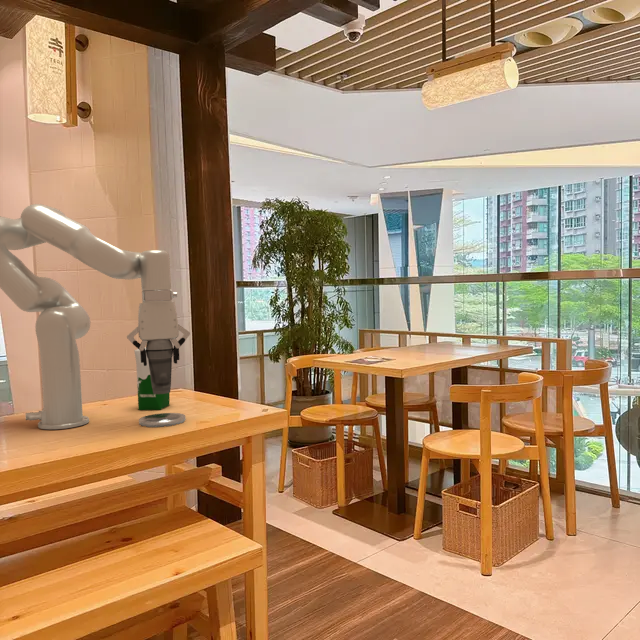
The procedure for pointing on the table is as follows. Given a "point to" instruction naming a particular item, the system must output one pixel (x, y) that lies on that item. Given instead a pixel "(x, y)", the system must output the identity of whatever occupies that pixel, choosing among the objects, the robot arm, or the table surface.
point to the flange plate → (162, 419)
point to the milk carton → (148, 388)
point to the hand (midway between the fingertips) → (160, 363)
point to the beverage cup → (160, 364)
